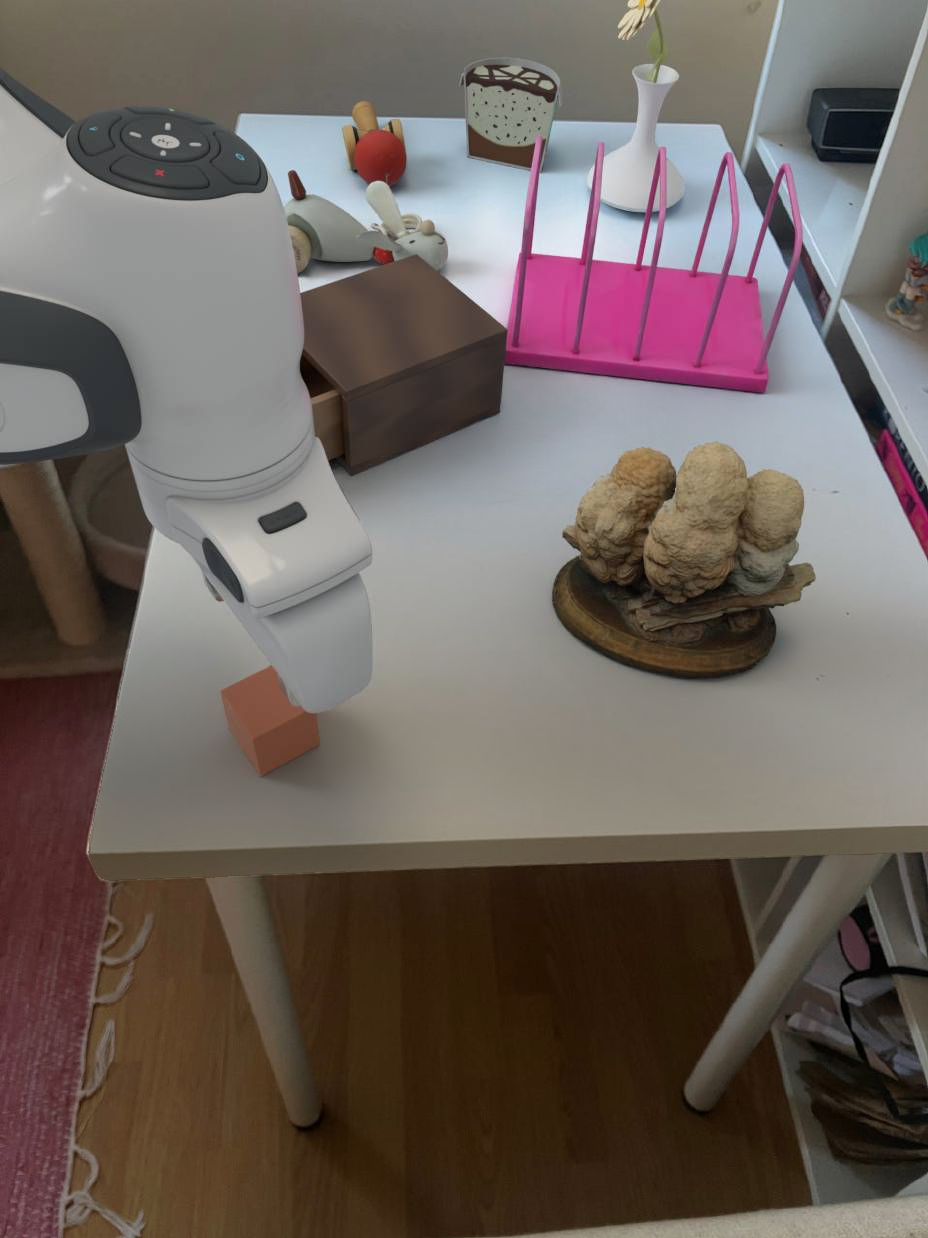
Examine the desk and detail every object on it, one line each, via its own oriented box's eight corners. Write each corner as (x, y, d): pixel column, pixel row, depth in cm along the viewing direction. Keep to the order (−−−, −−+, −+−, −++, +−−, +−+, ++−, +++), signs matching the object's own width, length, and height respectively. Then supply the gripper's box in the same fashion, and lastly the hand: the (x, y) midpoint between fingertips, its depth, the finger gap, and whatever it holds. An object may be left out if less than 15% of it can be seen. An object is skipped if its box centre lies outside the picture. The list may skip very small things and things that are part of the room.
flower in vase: (603, 165, 122) (640, -75, 103) (693, 188, 120) (748, -54, 100) (565, 212, 115) (597, -37, 95) (660, 238, 112) (713, -13, 93)
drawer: (220, 516, 80) (207, 450, 74) (152, 429, 86) (136, 362, 81) (417, 433, 87) (418, 367, 82) (342, 359, 94) (338, 293, 88)
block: (260, 777, 66) (252, 739, 62) (228, 729, 68) (219, 690, 65) (320, 744, 68) (315, 706, 64) (287, 699, 70) (281, 660, 67)
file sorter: (517, 267, 107) (532, 116, 95) (753, 292, 106) (798, 143, 94) (501, 365, 96) (516, 208, 84) (764, 394, 95) (817, 240, 83)
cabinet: (351, 476, 85) (346, 391, 78) (272, 389, 92) (261, 305, 85) (500, 412, 91) (508, 329, 84) (415, 336, 98) (416, 253, 91)
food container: (566, 153, 124) (577, 67, 116) (552, 175, 120) (563, 87, 112) (472, 133, 126) (476, 47, 118) (455, 154, 122) (459, 67, 115)
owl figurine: (788, 586, 79) (865, 414, 66) (780, 704, 72) (865, 537, 59) (565, 537, 81) (596, 361, 68) (535, 647, 74) (563, 474, 61)
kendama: (328, 138, 126) (345, 189, 113) (333, 84, 122) (352, 130, 109) (388, 147, 128) (412, 198, 115) (396, 94, 124) (421, 140, 111)
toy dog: (453, 281, 104) (457, 198, 98) (273, 299, 101) (264, 214, 94) (427, 221, 112) (429, 140, 105) (259, 235, 108) (249, 152, 102)
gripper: (82, 376, 53) (138, 555, 64) (269, 623, 43) (298, 788, 54) (192, 338, 56) (228, 517, 66) (393, 563, 45) (397, 732, 56)
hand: (261, 640), depth 60 cm, fingers open, 8 cm apart
